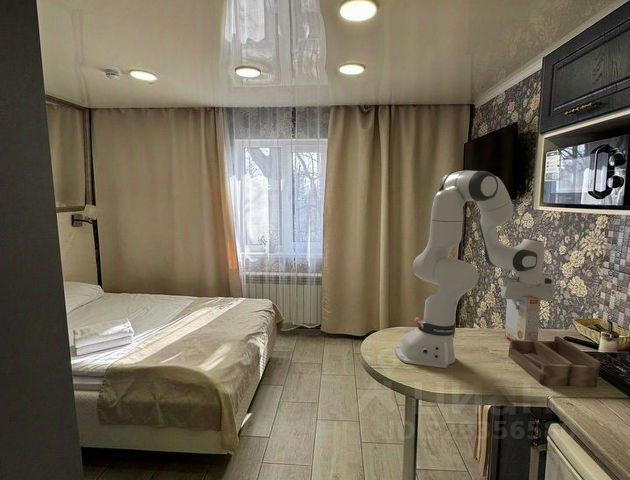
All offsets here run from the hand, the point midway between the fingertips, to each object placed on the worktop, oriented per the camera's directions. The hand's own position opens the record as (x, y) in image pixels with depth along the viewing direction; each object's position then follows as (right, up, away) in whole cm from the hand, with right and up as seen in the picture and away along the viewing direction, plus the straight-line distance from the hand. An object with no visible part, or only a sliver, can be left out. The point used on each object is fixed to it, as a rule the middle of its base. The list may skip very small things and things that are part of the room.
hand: (524, 309), depth 145 cm
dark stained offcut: (-9, -15, -22) cm, 28 cm away
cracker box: (0, -15, +3) cm, 15 cm away
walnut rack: (-5, -19, -22) cm, 29 cm away
